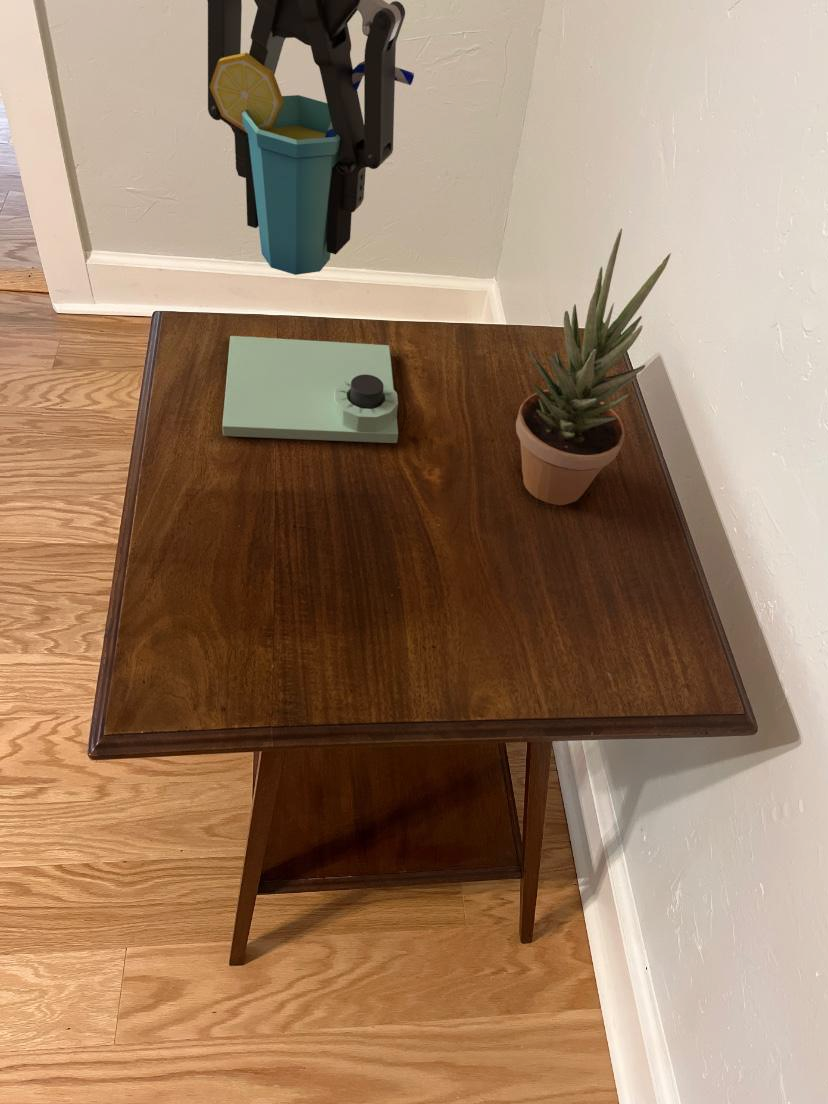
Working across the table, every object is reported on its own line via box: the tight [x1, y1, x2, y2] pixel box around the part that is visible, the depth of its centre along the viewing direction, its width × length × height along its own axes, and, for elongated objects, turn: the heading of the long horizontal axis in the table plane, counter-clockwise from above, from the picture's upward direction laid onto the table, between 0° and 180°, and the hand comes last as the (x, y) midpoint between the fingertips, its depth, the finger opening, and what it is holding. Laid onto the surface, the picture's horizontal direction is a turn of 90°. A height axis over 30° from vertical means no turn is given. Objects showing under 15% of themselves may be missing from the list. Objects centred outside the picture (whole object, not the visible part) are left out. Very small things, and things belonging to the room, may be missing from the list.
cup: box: [210, 52, 415, 276], centre depth 67 cm, size 14×8×15 cm, turn 95°
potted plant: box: [515, 227, 672, 506], centre depth 76 cm, size 10×10×25 cm
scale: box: [221, 335, 399, 444], centre depth 88 cm, size 16×14×3 cm
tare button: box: [350, 375, 383, 409], centre depth 84 cm, size 3×3×2 cm
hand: (298, 231), depth 71 cm, fingers closed on cup, 6 cm apart
